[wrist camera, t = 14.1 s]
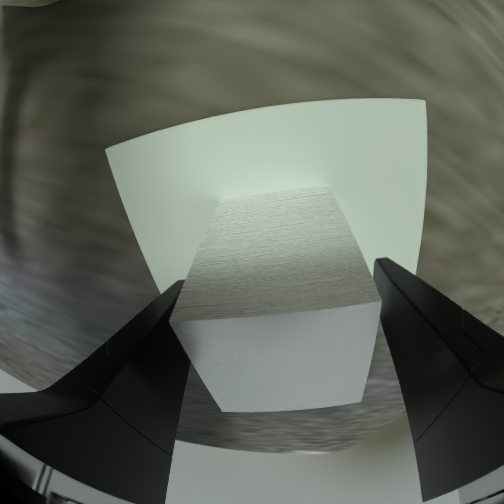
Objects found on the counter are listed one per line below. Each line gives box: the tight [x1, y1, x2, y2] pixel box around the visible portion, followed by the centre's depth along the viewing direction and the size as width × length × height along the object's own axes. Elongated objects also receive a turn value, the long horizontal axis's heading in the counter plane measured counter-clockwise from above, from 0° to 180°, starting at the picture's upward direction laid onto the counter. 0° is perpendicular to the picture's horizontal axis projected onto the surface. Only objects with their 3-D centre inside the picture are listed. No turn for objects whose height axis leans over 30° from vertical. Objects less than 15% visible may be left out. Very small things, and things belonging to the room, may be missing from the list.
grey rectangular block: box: [169, 185, 382, 412], centre depth 8 cm, size 4×4×6 cm
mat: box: [105, 98, 427, 294], centre depth 11 cm, size 12×10×1 cm
